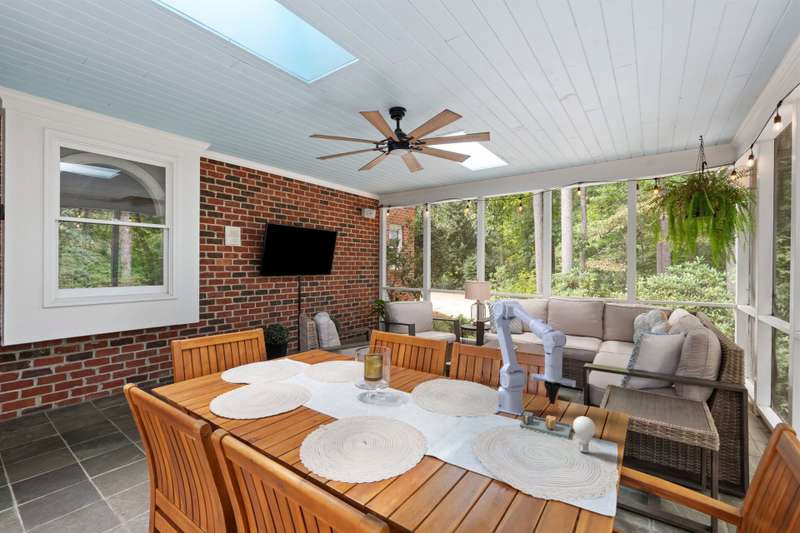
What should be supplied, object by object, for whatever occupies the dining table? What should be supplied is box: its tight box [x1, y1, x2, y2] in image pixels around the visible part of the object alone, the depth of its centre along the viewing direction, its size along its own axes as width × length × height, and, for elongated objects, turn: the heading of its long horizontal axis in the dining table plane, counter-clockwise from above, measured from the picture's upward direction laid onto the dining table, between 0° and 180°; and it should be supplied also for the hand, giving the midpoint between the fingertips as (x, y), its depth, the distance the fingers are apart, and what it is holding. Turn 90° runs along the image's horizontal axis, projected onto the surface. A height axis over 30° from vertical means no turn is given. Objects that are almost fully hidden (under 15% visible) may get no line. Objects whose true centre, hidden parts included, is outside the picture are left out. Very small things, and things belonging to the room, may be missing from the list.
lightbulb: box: [572, 415, 597, 454], centre depth 114 cm, size 6×6×11 cm
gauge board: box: [519, 410, 573, 440], centre depth 131 cm, size 16×10×4 cm, turn 60°
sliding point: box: [545, 414, 557, 429], centre depth 129 cm, size 3×5×3 cm, turn 150°
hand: (552, 403), depth 130 cm, fingers closed
